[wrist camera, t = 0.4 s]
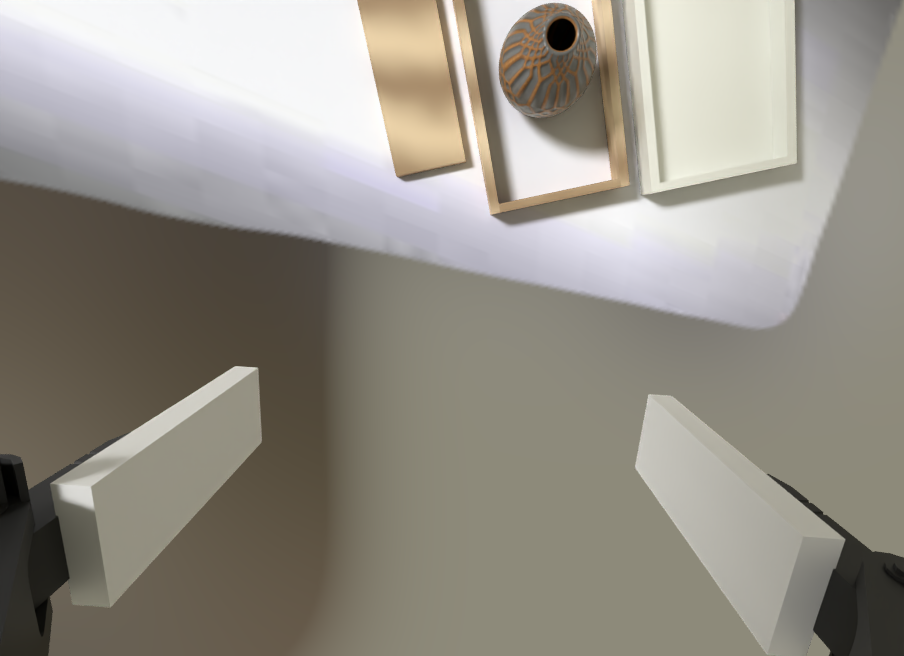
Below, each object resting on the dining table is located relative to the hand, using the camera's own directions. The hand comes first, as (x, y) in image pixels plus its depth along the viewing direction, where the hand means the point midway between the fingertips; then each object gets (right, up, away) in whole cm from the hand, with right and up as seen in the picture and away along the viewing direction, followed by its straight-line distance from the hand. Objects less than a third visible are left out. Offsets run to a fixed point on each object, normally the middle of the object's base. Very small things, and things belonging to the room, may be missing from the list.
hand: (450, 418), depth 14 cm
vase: (+7, +23, +21) cm, 32 cm away
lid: (-3, +23, +21) cm, 31 cm away
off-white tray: (+20, +25, +20) cm, 38 cm away
